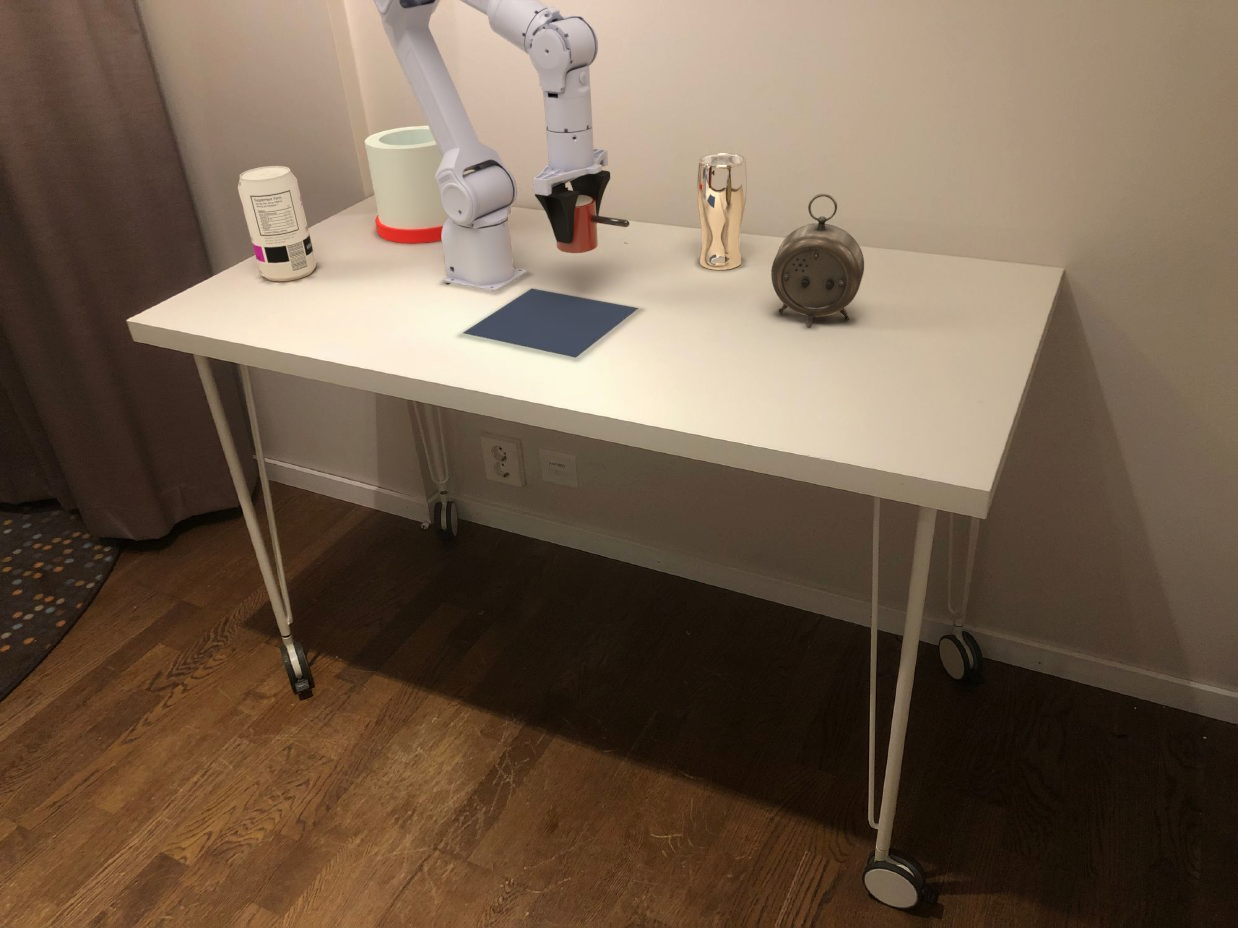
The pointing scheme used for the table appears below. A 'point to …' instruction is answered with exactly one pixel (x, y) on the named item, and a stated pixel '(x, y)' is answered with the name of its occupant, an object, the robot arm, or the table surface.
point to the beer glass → (721, 208)
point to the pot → (587, 226)
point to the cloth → (552, 322)
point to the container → (406, 184)
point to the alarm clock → (818, 269)
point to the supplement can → (276, 223)
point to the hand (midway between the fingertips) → (576, 235)
